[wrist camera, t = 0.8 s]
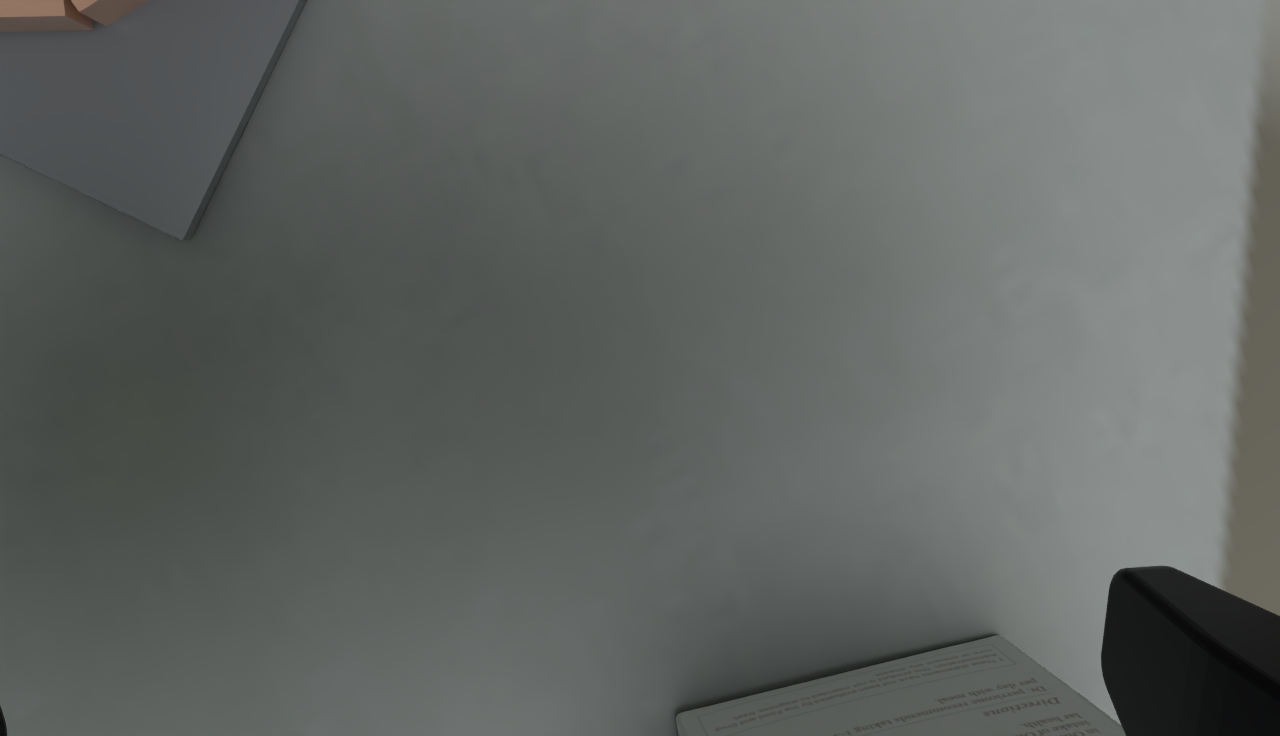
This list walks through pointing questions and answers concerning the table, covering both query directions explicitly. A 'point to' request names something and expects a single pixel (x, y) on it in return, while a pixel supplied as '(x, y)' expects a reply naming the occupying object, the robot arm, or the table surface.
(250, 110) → the ring seat
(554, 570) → the table surface
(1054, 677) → the supplement box
